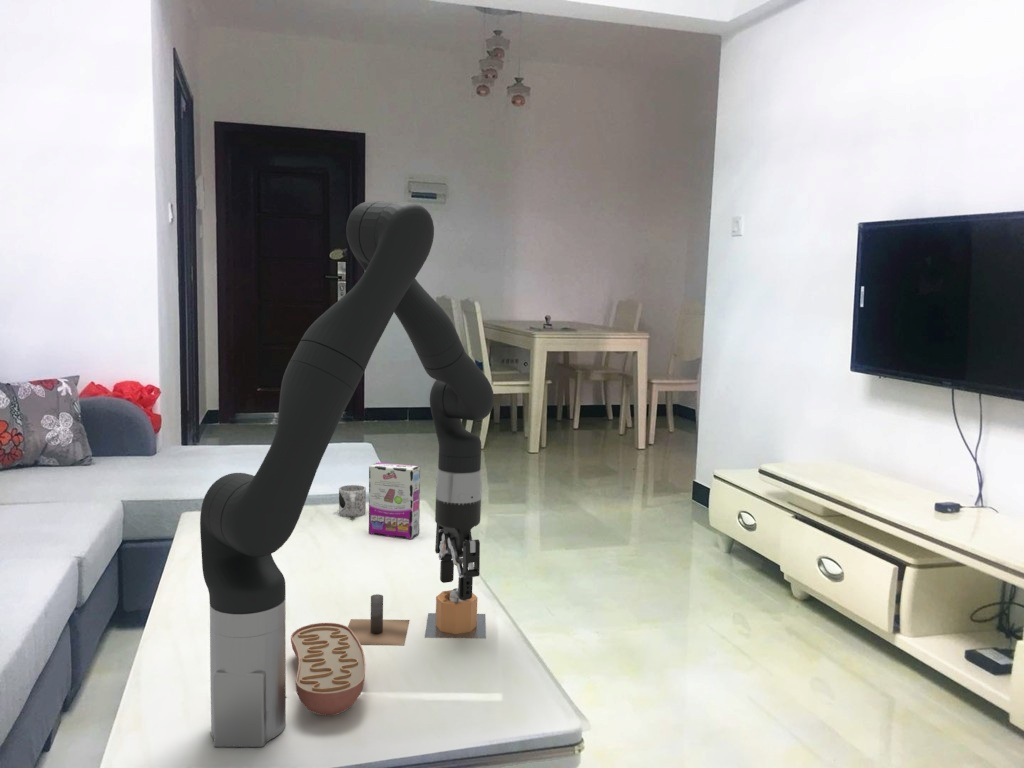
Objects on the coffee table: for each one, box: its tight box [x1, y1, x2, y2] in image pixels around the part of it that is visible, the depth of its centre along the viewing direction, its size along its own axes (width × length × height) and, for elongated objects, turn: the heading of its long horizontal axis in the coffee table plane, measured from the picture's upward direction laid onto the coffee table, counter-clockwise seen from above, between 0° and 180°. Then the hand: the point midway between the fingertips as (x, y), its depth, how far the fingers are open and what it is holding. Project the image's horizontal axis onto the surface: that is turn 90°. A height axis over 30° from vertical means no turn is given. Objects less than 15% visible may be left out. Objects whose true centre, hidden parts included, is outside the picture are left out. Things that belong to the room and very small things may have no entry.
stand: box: [347, 593, 411, 647], centre depth 133 cm, size 10×10×7 cm
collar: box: [435, 589, 478, 634], centre depth 137 cm, size 6×6×5 cm
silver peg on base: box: [424, 587, 487, 639], centre depth 137 cm, size 10×10×7 cm
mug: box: [338, 484, 367, 518], centre depth 204 cm, size 10×7×7 cm, turn 12°
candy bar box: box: [368, 462, 421, 540], centre depth 189 cm, size 11×5×16 cm, turn 73°
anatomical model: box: [290, 622, 366, 717], centre depth 117 cm, size 23×10×5 cm, turn 18°
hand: (455, 590), depth 136 cm, fingers open, 8 cm apart
